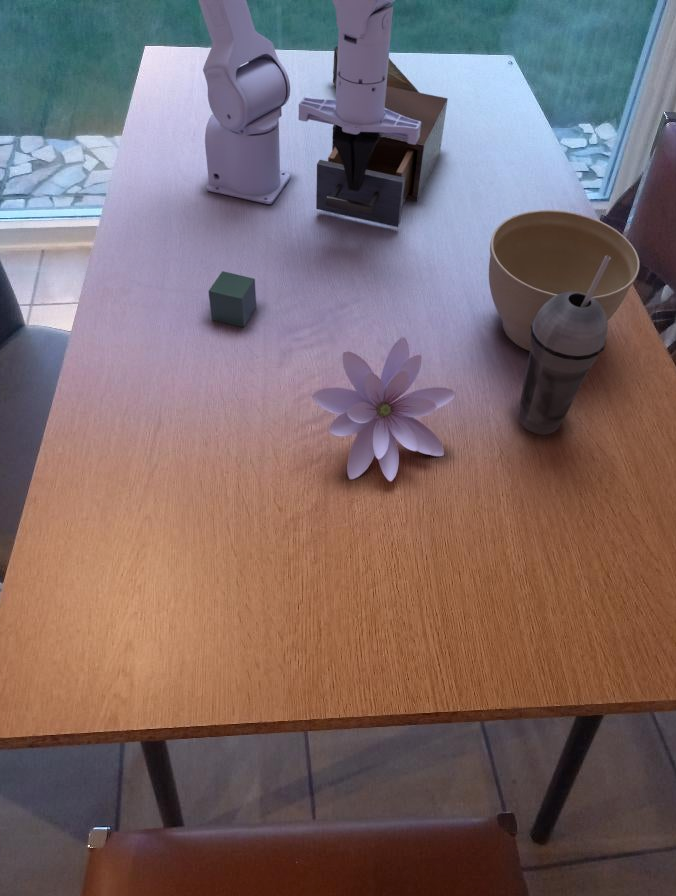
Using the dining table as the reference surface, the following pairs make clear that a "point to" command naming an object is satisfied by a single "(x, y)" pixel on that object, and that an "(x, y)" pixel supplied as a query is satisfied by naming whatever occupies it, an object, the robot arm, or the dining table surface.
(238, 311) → the block
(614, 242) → the planter bowl
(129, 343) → the dining table surface
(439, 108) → the cabinet
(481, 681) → the dining table surface
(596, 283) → the beverage cup
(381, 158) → the drawer
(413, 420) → the water lily
